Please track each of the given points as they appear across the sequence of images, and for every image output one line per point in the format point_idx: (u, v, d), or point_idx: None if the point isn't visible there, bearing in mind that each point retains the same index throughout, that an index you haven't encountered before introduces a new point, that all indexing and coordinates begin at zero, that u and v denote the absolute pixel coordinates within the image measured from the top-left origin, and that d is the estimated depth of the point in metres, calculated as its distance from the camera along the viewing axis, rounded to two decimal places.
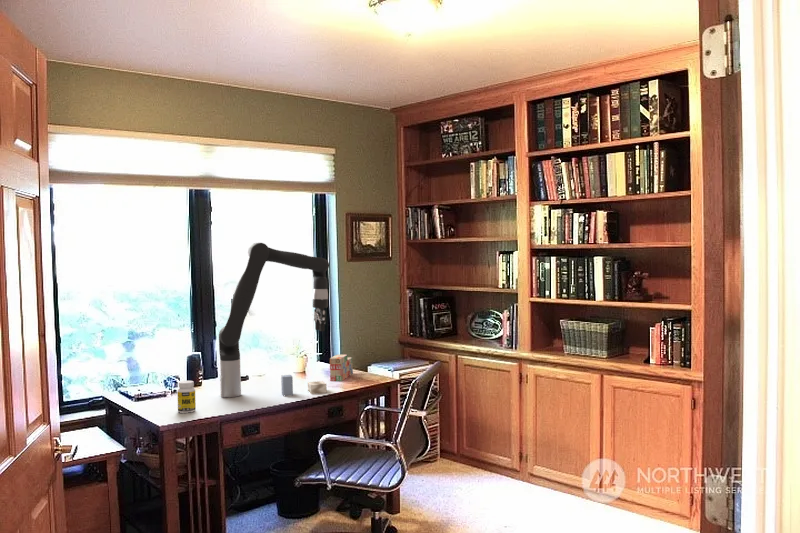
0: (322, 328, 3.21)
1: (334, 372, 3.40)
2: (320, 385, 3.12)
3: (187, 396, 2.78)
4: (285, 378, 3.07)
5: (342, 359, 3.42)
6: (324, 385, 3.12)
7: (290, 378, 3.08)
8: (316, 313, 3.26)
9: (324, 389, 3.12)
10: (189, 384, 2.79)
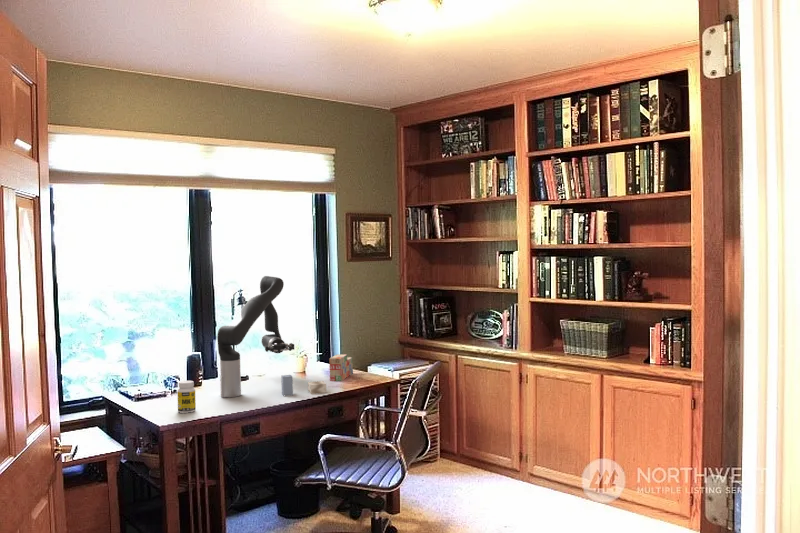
0: None
1: (333, 372, 3.40)
2: (320, 385, 3.12)
3: (187, 396, 2.78)
4: (285, 378, 3.07)
5: (342, 359, 3.42)
6: (324, 385, 3.12)
7: (290, 378, 3.08)
8: (277, 343, 3.28)
9: (323, 389, 3.12)
10: (189, 384, 2.79)
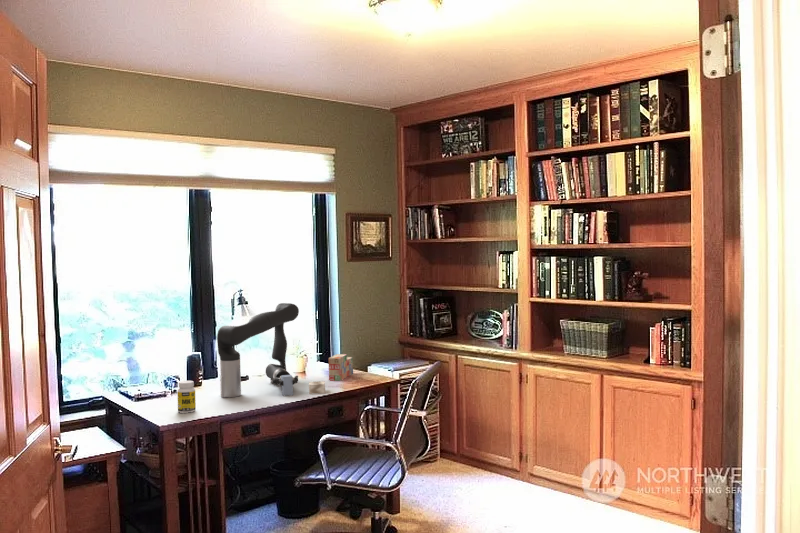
0: None
1: (332, 372, 3.41)
2: (318, 385, 3.11)
3: (187, 396, 2.78)
4: (285, 378, 3.07)
5: (341, 359, 3.42)
6: (322, 385, 3.12)
7: (290, 378, 3.08)
8: None
9: (322, 390, 3.12)
10: (189, 384, 2.79)
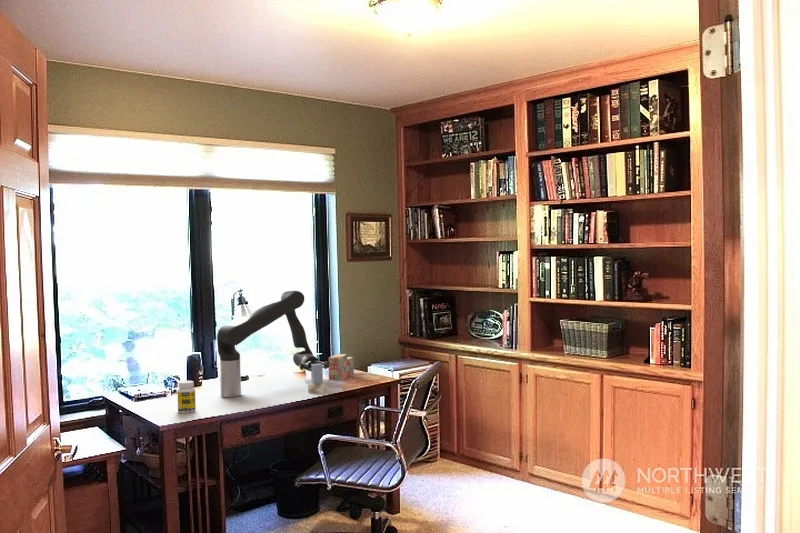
0: None
1: (332, 371, 3.42)
2: (317, 385, 3.11)
3: (187, 396, 2.78)
4: (315, 366, 3.13)
5: (341, 359, 3.43)
6: (321, 386, 3.11)
7: (320, 366, 3.13)
8: (311, 361, 3.21)
9: (321, 390, 3.11)
10: (189, 384, 2.79)
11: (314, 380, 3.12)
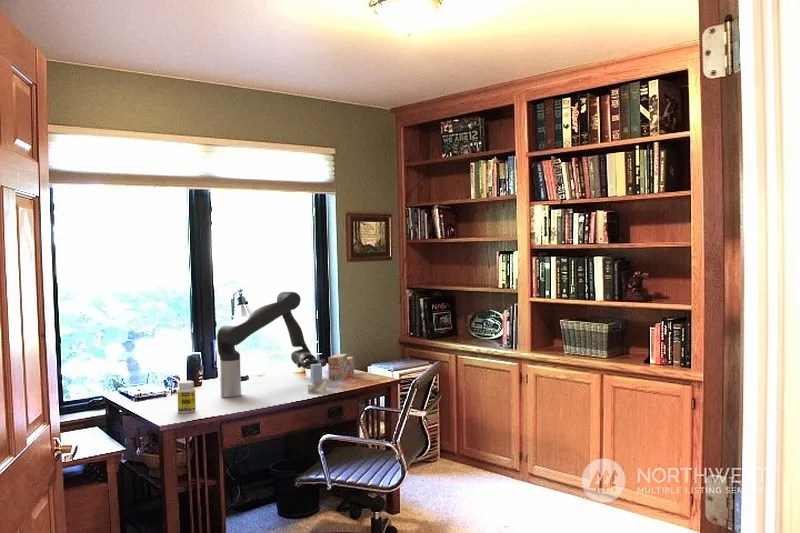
0: None
1: (332, 371, 3.42)
2: (317, 385, 3.11)
3: (187, 396, 2.78)
4: (315, 366, 3.12)
5: (340, 358, 3.43)
6: (321, 386, 3.11)
7: (320, 367, 3.13)
8: (309, 359, 3.26)
9: (321, 390, 3.11)
10: (189, 384, 2.79)
11: (314, 380, 3.12)
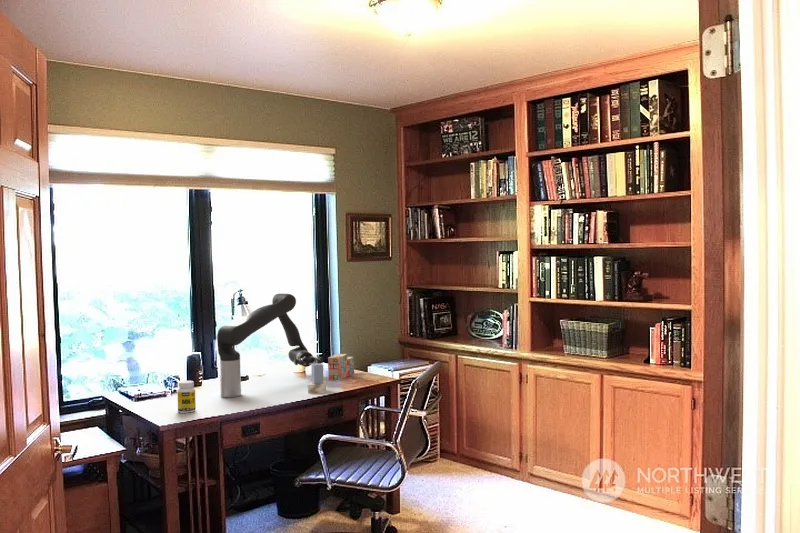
0: None
1: (332, 371, 3.42)
2: (317, 385, 3.11)
3: (187, 396, 2.78)
4: (316, 366, 3.12)
5: (340, 358, 3.44)
6: (321, 386, 3.11)
7: (321, 366, 3.13)
8: (306, 357, 3.33)
9: (321, 390, 3.11)
10: (189, 384, 2.79)
11: (315, 380, 3.12)
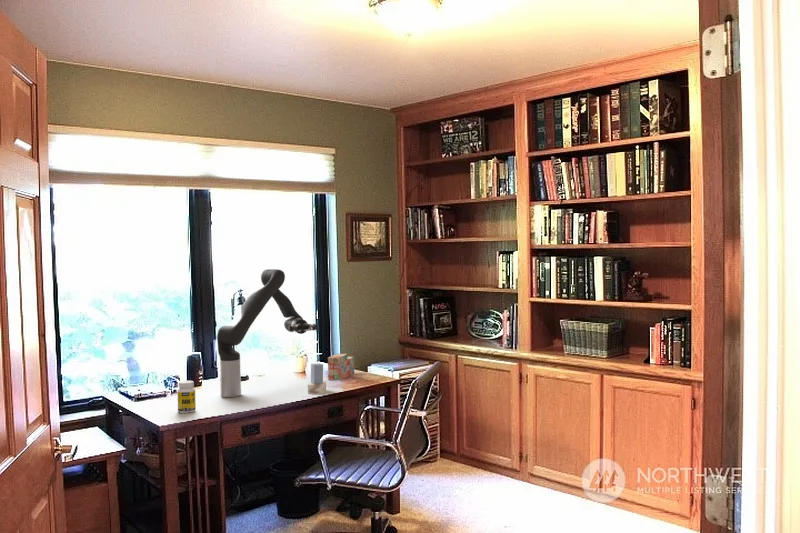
0: None
1: (332, 371, 3.43)
2: (317, 385, 3.11)
3: (187, 396, 2.78)
4: (316, 366, 3.12)
5: (340, 358, 3.44)
6: (321, 386, 3.11)
7: (321, 366, 3.13)
8: (300, 324, 3.33)
9: (321, 390, 3.11)
10: (189, 384, 2.79)
11: (314, 380, 3.12)
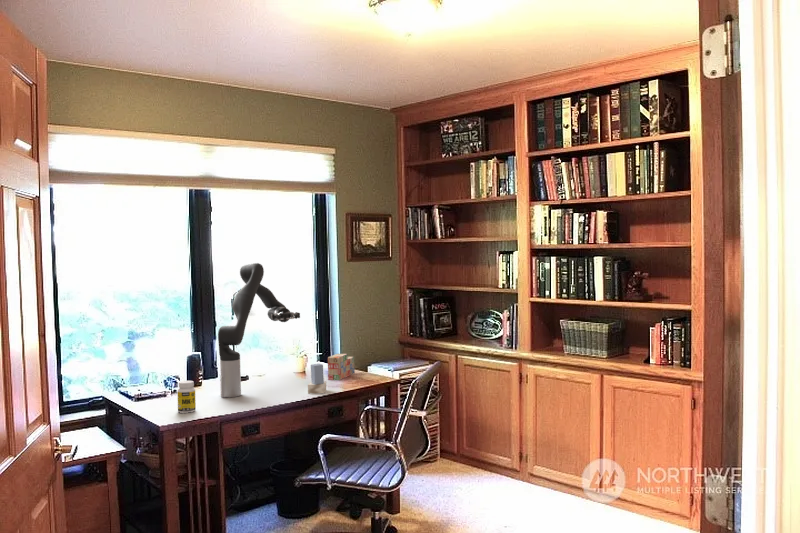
0: None
1: (331, 371, 3.43)
2: (317, 385, 3.11)
3: (187, 396, 2.78)
4: (316, 367, 3.11)
5: (340, 358, 3.44)
6: (321, 386, 3.11)
7: (321, 367, 3.13)
8: (283, 312, 3.37)
9: (321, 390, 3.11)
10: (189, 384, 2.79)
11: (315, 380, 3.11)
